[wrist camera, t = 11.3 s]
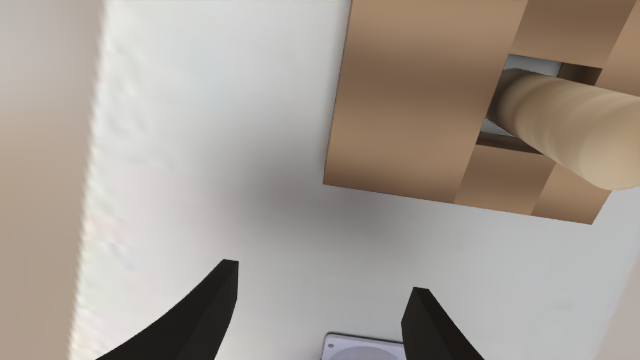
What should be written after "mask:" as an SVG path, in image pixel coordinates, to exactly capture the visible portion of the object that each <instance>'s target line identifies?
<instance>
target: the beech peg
mask: <svg viewBox="0 0 640 360" xmlns="http://www.w3.org/2000/svg"><path fill="white" fill-rule="evenodd" d="M485 117H486V118H487V119H488V120H490V121H491V122H493V123H494V124H496V125H498V126H499V127H501V128H503V129H504V130H506V131H507V132H509V133H511V134H512V135H514V136H515V137H517V138H519V139H520V140H522V141H524V142H525V143H527V144H528V145H530V146H532V147H533V148H535V149H536V150H538V151H540V152H541V153H543V154H544V155H546V156H548V157H549V158H551V159H553V160H554V161H556V162H557V163H559V164H561V165H562V166H564V167H565V168H567V169H569V170H570V171H572V172H573V173H575V174H577V175H578V176H580V177H582V178H583V179H585V180H586V181H588V182H590V183H591V184H593V185H595V186H596V187H599V188H601V189H606V190H626V189H630V188H634V187H637V186H640V97H637V96H633V95H629V94H624V93H620V92H616V91H612V90H607V89H603V88H599V87H594V86H590V85H586V84H582V83H577V82H573V81H569V80H565V79H560V78H556V77H552V76H548V75H543V74H539V73H535V72H530V71H526V70H522V69H516V68H512V69H506V70H503V71H502V73H501V76H500V78H499V81H498V84H497V86H496V89H495V92H494V95H493V97H492V100H491V103H490V105H489V108H488V111H487V113H486V116H485Z"/></svg>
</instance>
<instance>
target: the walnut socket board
mask: <svg viewBox="0 0 640 360" xmlns="http://www.w3.org/2000/svg"><path fill="white" fill-rule="evenodd" d="M508 54H515V55H521V56H527V57H533V58H540V59H546V60H552V61H559V62H563V65H562V67H561V69H560V71H559V74H558V76H557V78H560V79H565V80H569V81H573V82H577V83H582V84H586V85H590V86H594V87H599V88H603V89H607V90H612V91H616V92H620V93H624V94H629V95H633V96H637V97H640V0H351V6H350V13H349V19H348V25H347V31H346V37H345V43H344V50H343V56H342V62H341V68H340V74H339V80H338V87H337V93H336V99H335V105H334V111H333V117H332V124H331V130H330V136H329V142H328V148H327V154H326V161H325V169H324V179H323V184H325V185H331V186H338V187H345V188H351V189H358V190H365V191H371V192H378V193H385V194H391V195H398V196H405V197H411V198H418V199H424V200H431V201H438V202H444V203H451V204H458V205H464V206H471V207H478V208H484V209H491V210H498V211H504V212H511V213H517V214H524V215H531V216H537V217H544V218H551V219H557V220H564V221H571V222H577V223H584V224H591V225H592V223H593V221H594V220H595V218H596V216H597V215H598V213H599V211H600V210H601V208H602V206H603V205H604V203H605V201H606V200H607V198H608V196H609V195H610V193H611V191H612V190H606V189H601V188H599V187H596V186H595V185H593V184H591V183H590V182H588V181H586V180H585V179H583V178H582V177H580V176H578V175H577V174H575V173H573V172H572V171H570V170H569V169H567V168H565V167H564V166H562V165H561V164H559V163H557V162H556V161H554V160H553V159H551V158H549V157H548V156H546V155H544V154H543V153H541V152H540V151H538V150H536V149H535V148H533V147H532V146H530V145H528V144H527V143H525V142H524V141H522V140H520V139H519V138H515V137H508V136H502V135H495V134H489V133H482V132H480V130H481V127H482V124H483V122H484V119H485V116H486V113H487V111H488V108H489V105H490V103H491V100H492V97H493V95H494V92H495V89H496V86H497V84H498V81H499V78H500V76H501V73H502V70H503V67H504V65H505V62H506V59H507V57H508Z"/></svg>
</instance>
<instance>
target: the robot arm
mask: <svg viewBox="0 0 640 360" xmlns="http://www.w3.org/2000/svg"><path fill="white" fill-rule="evenodd" d="M238 267H239V261H233V260H226V259H223V260H222V261H221V262H220V263H219V264H218V265H217V266H216V267H215V268H214V269H213V270H212V271H211V272H210V273H209V274H208V275H207V276H206V277H205V278H204V279H203V280H202V281H201V282H200V283H199V284H198V285H197V286H196V287H195V288H194V289H193V290H192V291H191V292H190V293H189V294H188V295H187V296H185V297H184V298H183V299H182V300H181V301H180V302H178V303H177V304H176V305H175V306H174V307H173V308H171V309H170V310H169V311H168V312H167V313H165V314H164V315H163V316H161V317H160V318H159V319H158V320H156V321H155V322H154V323H152V324H151V325H149V326H148V327H147V328H145V329H144V330H142V331H141V332H139V333H138V334H137V335H135V336H134V337H132V338H131V339H129V340H128V341H126V342H124V343H123V344H121V345H120V346H118V347H117V348H115V349H113V350H111V351H110V352H108V353H106V354H104V355H103V356H101V357H99V358H98V359H96V360H214V359H215V357H216V354H217V352H218V350H219V347H220V345H221V343H222V340H223V338H224V336H225V333H226V331H227V328H228V326H229V324H230V321H231V317H232V314H233V311H234V308H235V304H236V301H237V290H238ZM401 327H402V337H403V344H398V343H391V342H384V341H377V340H370V339H363V338H356V337H349V336H342V335H335V334H329V335H327V336H326V340H325V344H324V349H323V353H322V358H321V360H484V359H483V357H482V356H481V355H480V354H479V353H478V352H477V351H476V349H475V348H474V347H473V346H472V345H471V344H470V342H469V341H468V340H467V339H466V338H465V336H464V335H463V334H462V333H461V331H460V330H459V329H458V328H457V326H456V325H455V324H454V323H453V321H452V320H451V319H450V317H449V316H448V315H447V313H446V312H445V311H444V309H443V308H442V307H441V305H440V304H439V303H438V301H437V300H436V299H435V297H434V296H433V294H432V293H431V292H430V291H429V289H425V288H418V287H413V290H412V293H411V296H410V298H409V301H408V304H407V307H406V310H405V313H404V315H403V318H402V321H401Z"/></svg>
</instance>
